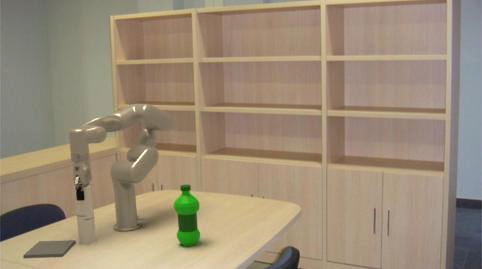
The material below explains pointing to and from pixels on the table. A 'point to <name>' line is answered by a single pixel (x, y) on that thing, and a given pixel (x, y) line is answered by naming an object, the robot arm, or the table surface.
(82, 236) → the cylindrical container
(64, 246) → the charcoal mat
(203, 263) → the table surface
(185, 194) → the plastic bottle
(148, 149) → the robot arm
